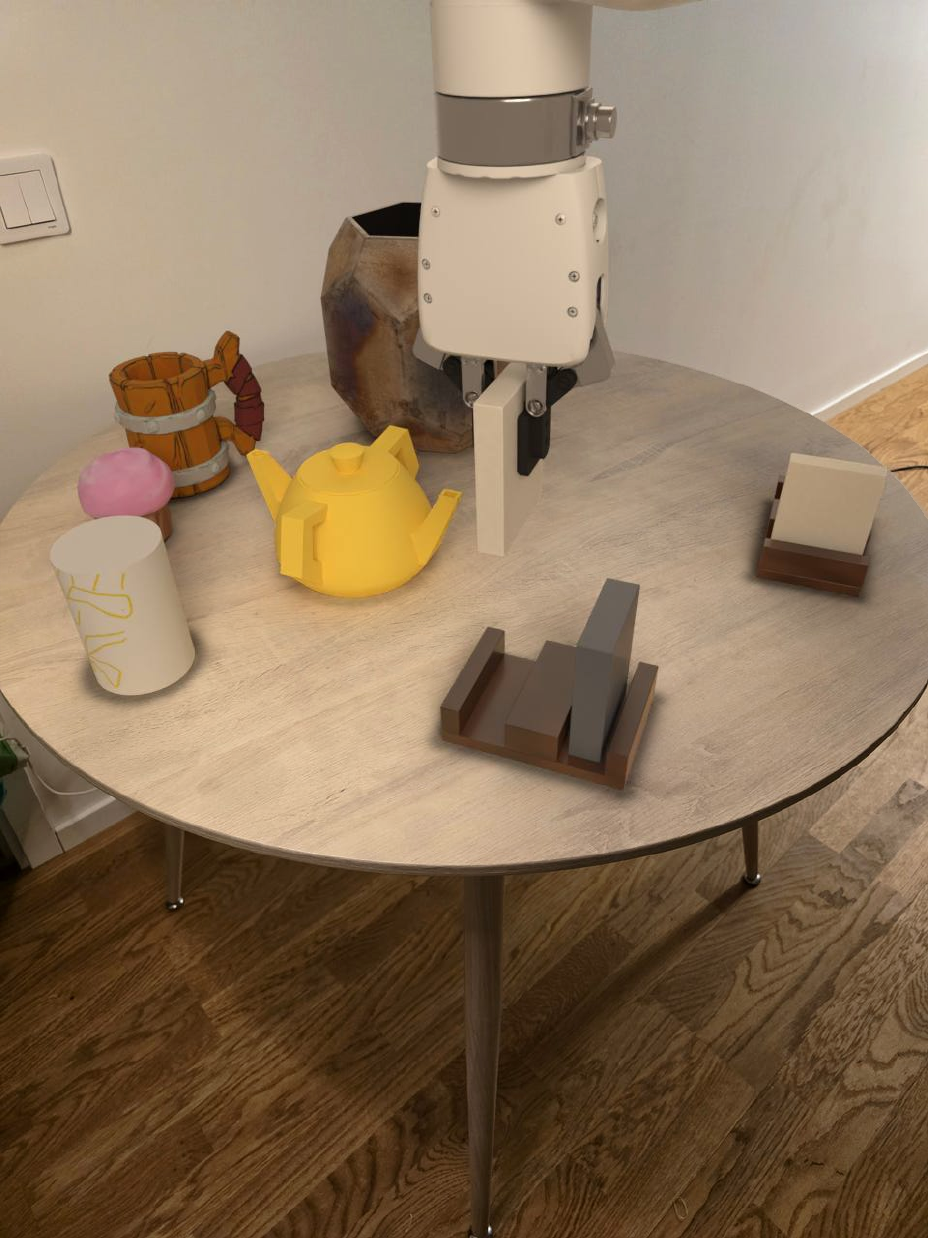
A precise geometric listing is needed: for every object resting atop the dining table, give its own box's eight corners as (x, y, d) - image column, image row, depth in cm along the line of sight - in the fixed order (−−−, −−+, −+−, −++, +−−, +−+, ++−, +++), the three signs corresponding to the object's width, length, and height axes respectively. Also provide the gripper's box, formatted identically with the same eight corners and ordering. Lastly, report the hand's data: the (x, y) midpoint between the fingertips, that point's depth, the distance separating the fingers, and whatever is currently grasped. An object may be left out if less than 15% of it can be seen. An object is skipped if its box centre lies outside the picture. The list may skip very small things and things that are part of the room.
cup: (74, 673, 72) (26, 554, 65) (149, 621, 77) (112, 505, 70) (142, 708, 69) (99, 586, 61) (215, 651, 74) (183, 532, 67)
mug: (122, 469, 100) (83, 342, 91) (258, 435, 106) (235, 312, 97) (144, 511, 92) (105, 377, 83) (289, 471, 99) (267, 342, 89)
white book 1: (542, 496, 60) (546, 355, 54) (503, 557, 54) (502, 407, 48) (518, 492, 60) (518, 352, 54) (476, 552, 54) (472, 403, 48)
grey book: (626, 691, 68) (640, 584, 61) (600, 763, 62) (612, 653, 55) (596, 684, 68) (607, 577, 62) (567, 754, 62) (576, 645, 56)
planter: (559, 444, 102) (569, 231, 88) (359, 481, 96) (335, 260, 82) (493, 374, 119) (492, 186, 104) (319, 403, 113) (292, 207, 98)
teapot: (416, 501, 93) (409, 396, 85) (470, 587, 80) (468, 473, 73) (260, 533, 88) (238, 426, 81) (292, 629, 76) (270, 513, 69)
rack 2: (864, 519, 88) (873, 489, 86) (858, 597, 78) (869, 565, 76) (772, 504, 91) (779, 474, 89) (756, 577, 81) (763, 546, 79)
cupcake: (199, 521, 91) (177, 434, 84) (172, 569, 84) (146, 478, 78) (116, 519, 91) (89, 433, 85) (83, 567, 84) (50, 476, 78)
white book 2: (857, 562, 80) (888, 466, 74) (856, 572, 79) (887, 476, 73) (768, 546, 83) (791, 452, 77) (766, 556, 82) (789, 461, 75)
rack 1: (653, 698, 68) (658, 665, 66) (623, 790, 61) (628, 757, 59) (487, 658, 73) (487, 626, 70) (441, 740, 65) (439, 706, 63)
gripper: (684, 122, 43) (648, 454, 55) (399, 115, 48) (420, 421, 60) (653, 150, 38) (620, 513, 49) (335, 139, 43) (372, 471, 54)
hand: (511, 461), depth 54 cm, fingers closed on white book 1, 1 cm apart
